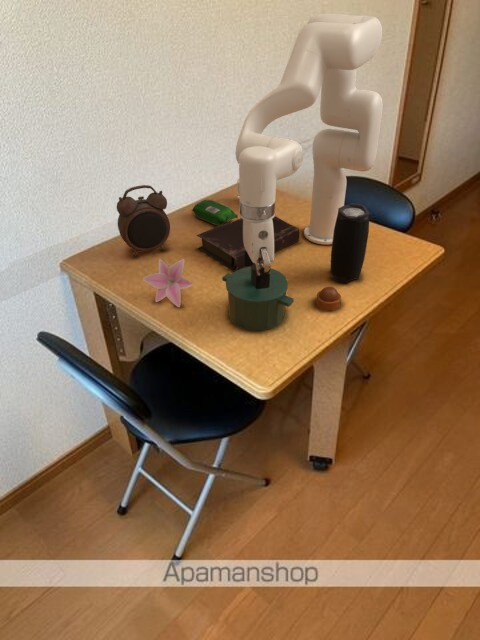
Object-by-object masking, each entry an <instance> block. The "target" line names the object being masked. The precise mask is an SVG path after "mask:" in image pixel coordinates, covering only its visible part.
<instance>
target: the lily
mask: <svg viewBox="0 0 480 640" xmlns="http://www.w3.org/2000/svg"><path fill="white" fill-rule="evenodd" d="M185 263H186V262H185V258H181V259H179V260H177V261H176V262H174V263H173V264H171V265H170V266H169V265H168V264H167V263H166V262H165V261H164V260H163V259H161V258H159V259H158V272H154V273H151V274H148V275H145V276H143V278H142V280H143V282H144V283H146V284H147V285H149V286H150V287H153V288H155V289H157V290H156V293H155V298H154V300H155V303H158V302H160V301H161V300H163V299H165V298H166V297H167V299H168V300H169V301H170V302H171V303H172V304H173V305H174V306H176V307H177V308H180V307H181V305H182V304H181V303H182V295H181V290H183V289H187V288H190V287H192V286H194V283H193V282H192V281H190V280H189V279H187V278H186V277H184V276H183V273H184V267H185Z"/></svg>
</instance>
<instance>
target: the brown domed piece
mask: <svg viewBox="0 0 480 640" xmlns="http://www.w3.org/2000/svg"><path fill="white" fill-rule="evenodd" d="M341 301H342V296H341V294H340V293H339V292H338V290H337V289H336V288H335V287H333V286H325V287H323V288H322V289H320V290H319V291H317V293H316V299H315V305H316V307H317V308H318V309H320V310H322V311H325V312H334V311H336V310H338V309H339V308H340V307H341Z"/></svg>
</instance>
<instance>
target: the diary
mask: <svg viewBox="0 0 480 640" xmlns="http://www.w3.org/2000/svg"><path fill="white" fill-rule="evenodd" d="M272 221H273V229H274V254H275V253H276V252H277V253H278V251H280V250H282V249H284V248H286V247H287V248H288V247H289V246H291V245H294V244H296V243H299V241H300V237H301V232H300V231H301V230H300V228H299V227H297V226H294V225H293V224H291V223H289V222H287V221H285V220H283V219H281V218H279V217H278V216H276V215H275V216H274V218H273V219H272ZM196 237H199V238H200V239H201V246H199V247H197V249H198V250H199V251H200V252H203V253H205V255H208V257H211V258H212V259H214V260H215V261H217V262H219V263H220V264H222V265H224V266H225V267H227V268H229V269H231V270H232V271H234V272H235V271H237V270H239V269H242V268H246V267H245V265H244V252H245V249H244V243H243V219H242V218H241V217H240V218H237V219H235V220H232V221H229V222H226V223H224V224H223V225H221V226H215V227H212V228H209V229H207V230H205V231H203V232H200V233H198V234H197V235H196ZM259 260H262V258H258V261H259Z"/></svg>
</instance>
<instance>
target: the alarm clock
mask: <svg viewBox="0 0 480 640" xmlns="http://www.w3.org/2000/svg"><path fill="white" fill-rule="evenodd" d="M140 189H151V190H152V192H151V193H149V194H148V196H147V197H146V198H145V196H138V197H137V199H134V198H133V197H131V196H127V195H128V194H129V193H130V192H132V191H136V190H140ZM167 206H168V199H167V198H166V196H164V194H163V190H159V191H158V192H157V191H156V189H154V188H153V186H152V185H149V184H148V185H147V184H141V185H137V186H136V185H135V186H131V187H130V188H127V189H126V190H125V191H124V193H123V195H122V196H119V197H118V201H117V202H116V211H117V212H118V218H117V229H118V232H119V235H120V237H121V239H122V240H123V242H124V243H125V244H126V245H127V247H129V248H130V249H131V250H133V251H134V253H133V254H132V256H133V257H134V258H136V257H137V256H136V255H137V253H138V252H139V253H149V252H153V251H155V250H157V249H159V248H160V249H161V250H162V251H165V248H164V247H163V245H164V244H165V243H166V242H167V240H168V238H169V236H170V233H171V222H170V219H169V217H168V215H167V213H166V211H165V210H166V209H167Z"/></svg>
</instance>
